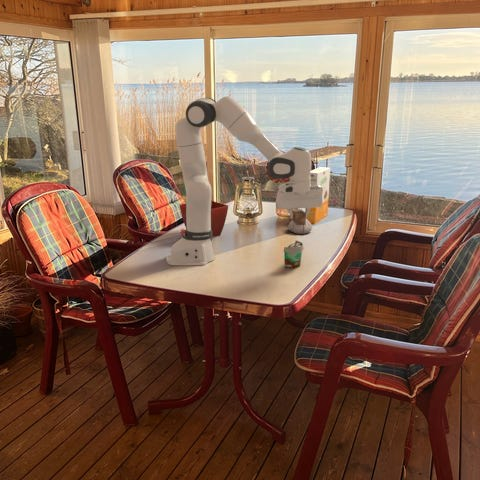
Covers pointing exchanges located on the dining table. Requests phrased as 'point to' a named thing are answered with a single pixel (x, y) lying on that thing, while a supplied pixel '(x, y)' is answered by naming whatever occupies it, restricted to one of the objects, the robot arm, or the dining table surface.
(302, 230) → the sea urchin shell
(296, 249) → the food container
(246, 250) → the dining table surface
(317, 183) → the cereal box
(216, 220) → the plant pot
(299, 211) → the walnut block
